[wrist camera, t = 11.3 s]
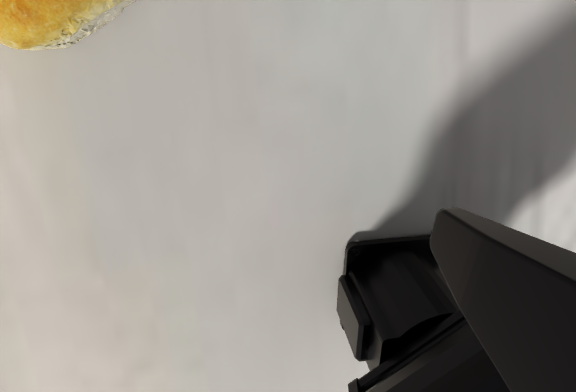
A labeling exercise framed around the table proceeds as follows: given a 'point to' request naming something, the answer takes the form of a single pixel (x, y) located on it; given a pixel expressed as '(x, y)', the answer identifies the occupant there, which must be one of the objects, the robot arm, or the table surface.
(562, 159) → the table surface
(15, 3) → the bread roll
